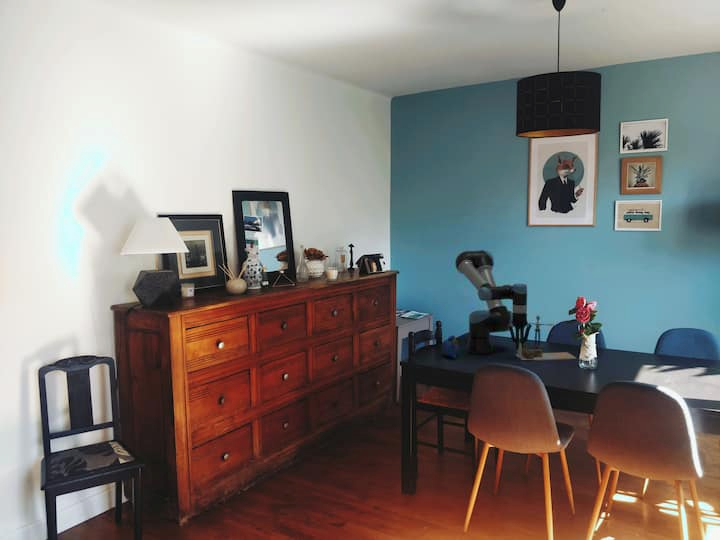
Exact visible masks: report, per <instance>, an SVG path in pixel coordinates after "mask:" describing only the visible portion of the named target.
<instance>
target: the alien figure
mask: <svg viewBox="0 0 720 540" xmlns="http://www.w3.org/2000/svg"><path fill="white" fill-rule="evenodd" d="M535 318H536V322H528V324H531V325H535V328H534V332H535V334H534V344H533V346H534V349H537V347H538V349H541V347H544V345H543V343H541V329H540V327H541V326H551V327H554V326H555V324H553V323H539V321H540V320H541V317H540V315H536V317H535ZM537 336H538V337H537ZM537 342H538V343H537Z"/></svg>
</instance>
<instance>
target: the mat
mask: <svg viewBox="0 0 720 540" xmlns="http://www.w3.org/2000/svg"><path fill="white" fill-rule="evenodd" d="M515 355H516V356H517V357H518V359H519V358H520V359H521V360H537V361H555V360H556V361H557V360H559V361H561V360H577V357H575V356H574V355H573V354H571V353H569V352H568V351H566V352H542V357H534V359H526V358H525V357H524V356H522V355H518V354H517V353H516V354H514V356H515ZM516 356H515V357H516ZM517 357H516V358H517ZM520 359H519V360H520ZM521 360H520V361H521Z"/></svg>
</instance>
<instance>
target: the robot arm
mask: <svg viewBox="0 0 720 540" xmlns="http://www.w3.org/2000/svg"><path fill="white" fill-rule="evenodd" d="M454 264H455V268H456V270H457V271H458V273H459V274H462V275H464V277H465V278H466V279H467V280H468V281H469V282H470V283H471V285H473V287H474V288H475V289H476V290H477V296H478V299H479V300H480V301H481V302H482V301H483V302H484V301H485V303H486V305H487V308H488V310H486V309H485V310H484V309H483V310H481V309H480V310H474V311H473V312H471V313H470V314H469V317H468V318H469V319H468V335H469V336H468V341H467V345H466V347H465V350H466V351H467V353H468V352H470V353H469V354H471V353H474V354H473V355H478V354H484V355H490V354H493V353H494V347H493V345H492V342H491V337H490V336H491V334H492V333H502V332H504V333H506V332H510V336H511V341H512V343H513V342H514V343H515V349H517V351H516V352H517V353H516V354H518V355H522V349H523V348H524V344H525V343H527V342H528V338H529V336H530V335H529V334H530V330H531V328H532V326H533V324H528V323H529V322H528V313H527V309H528V304H527V303H528V287H527V284H526V283H513V285H511V284H503V285H499V286H498V285H496V282H495V279H494V276H493V272H492V270H493V268H494V266H495V260H494V256H493V254H492V253H491V251H488V250H484V249H483V250H481V249H480V250H469V251H467V250H466V251H462V252H461V253H459V254H458V255H457V256H456V258H455V262H454ZM502 300H512V311H511V310H508V308H507V306H506V305H505V304H503V301H502ZM514 329H515V331H514ZM466 351H465V352H466ZM489 353H490V354H489Z"/></svg>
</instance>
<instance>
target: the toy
mask: <svg viewBox="0 0 720 540" xmlns="http://www.w3.org/2000/svg"><path fill="white" fill-rule="evenodd" d="M459 344H460V343H459V341H458V340H457V339H456V336H455V335H450V336H449V337H448V338H447V339H445V340H443V341H442V346H441V349H442V353H443V354H444V355H445V354H447V355H446V356H449V357H451V358H452V359H453V358H456V357H457V356H458V354H459V351H460V346H459ZM456 359H457V358H456Z"/></svg>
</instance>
